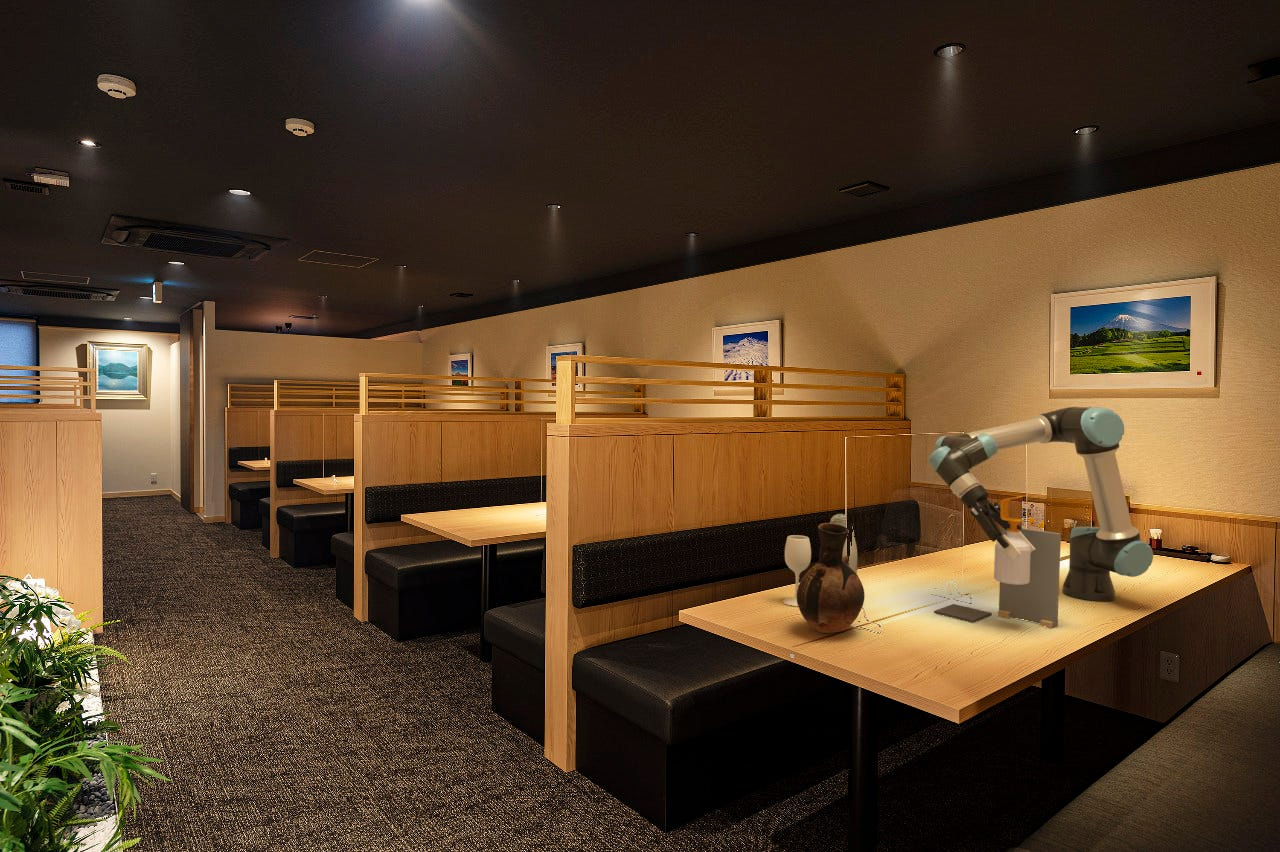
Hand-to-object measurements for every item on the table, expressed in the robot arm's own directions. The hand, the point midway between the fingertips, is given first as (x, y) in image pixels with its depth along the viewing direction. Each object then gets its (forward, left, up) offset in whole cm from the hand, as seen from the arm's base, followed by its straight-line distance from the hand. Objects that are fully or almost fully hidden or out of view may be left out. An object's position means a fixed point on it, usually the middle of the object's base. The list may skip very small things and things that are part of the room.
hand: (1024, 554), depth 209 cm
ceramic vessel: (+43, -34, -22) cm, 59 cm away
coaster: (-2, -18, -22) cm, 28 cm away
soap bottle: (0, -3, -8) cm, 9 cm away
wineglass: (+28, -57, -22) cm, 67 cm away
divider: (-11, -3, -22) cm, 25 cm away
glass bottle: (+15, -50, -22) cm, 57 cm away
